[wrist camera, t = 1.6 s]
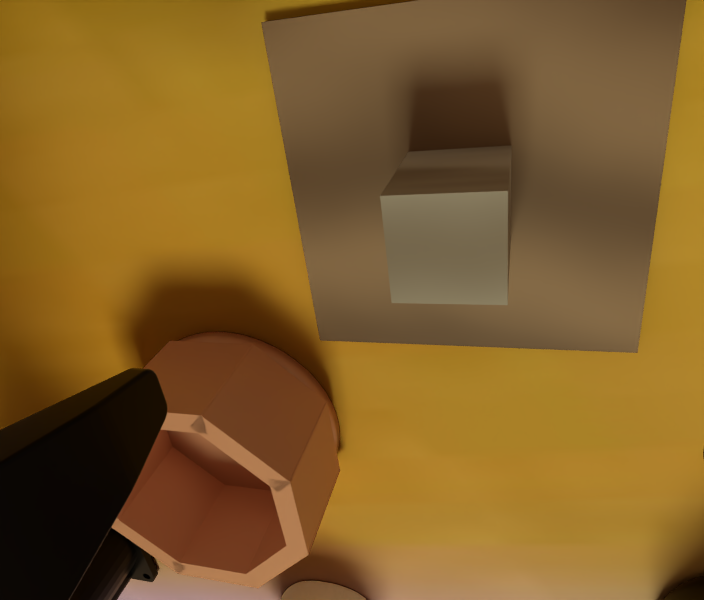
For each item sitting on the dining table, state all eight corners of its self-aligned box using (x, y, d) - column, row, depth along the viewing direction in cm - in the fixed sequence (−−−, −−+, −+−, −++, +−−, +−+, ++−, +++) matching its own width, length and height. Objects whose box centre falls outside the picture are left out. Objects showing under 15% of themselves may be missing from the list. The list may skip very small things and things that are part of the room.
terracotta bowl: (352, 498, 26) (320, 599, 22) (183, 478, 28) (125, 564, 24) (323, 334, 22) (275, 420, 17) (127, 328, 24) (44, 401, 20)
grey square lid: (632, 336, 19) (662, 438, 15) (327, 326, 22) (282, 408, 18) (681, -38, 14) (749, -42, 10) (274, 19, 17) (192, 35, 13)
